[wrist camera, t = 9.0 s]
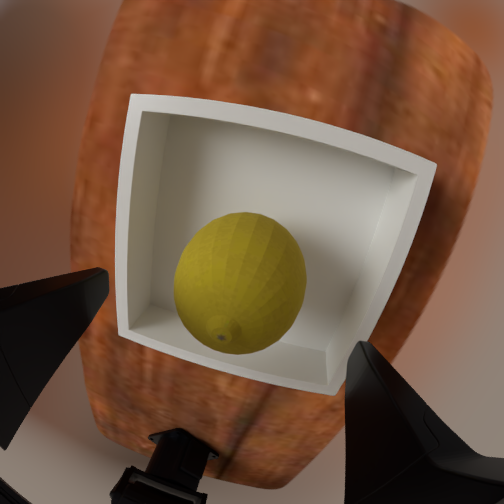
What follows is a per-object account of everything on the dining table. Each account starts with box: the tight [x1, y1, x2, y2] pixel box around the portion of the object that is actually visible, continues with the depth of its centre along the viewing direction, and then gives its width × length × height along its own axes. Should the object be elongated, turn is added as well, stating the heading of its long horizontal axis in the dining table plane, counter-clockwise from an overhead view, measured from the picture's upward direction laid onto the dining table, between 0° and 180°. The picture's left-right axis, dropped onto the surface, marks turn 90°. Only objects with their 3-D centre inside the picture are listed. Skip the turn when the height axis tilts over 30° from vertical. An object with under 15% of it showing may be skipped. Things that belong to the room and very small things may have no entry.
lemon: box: [174, 212, 307, 355], centre depth 13 cm, size 6×6×8 cm
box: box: [115, 94, 437, 396], centre depth 15 cm, size 14×14×4 cm
